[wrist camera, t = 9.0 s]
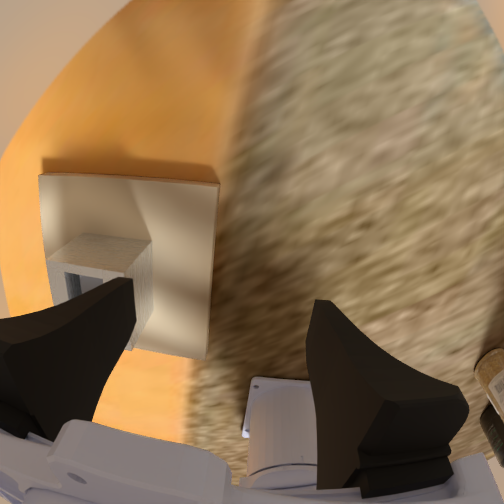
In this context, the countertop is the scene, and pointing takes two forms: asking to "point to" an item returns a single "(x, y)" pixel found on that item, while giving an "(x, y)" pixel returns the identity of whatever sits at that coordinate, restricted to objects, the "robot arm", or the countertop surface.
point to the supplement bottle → (494, 432)
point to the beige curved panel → (152, 229)
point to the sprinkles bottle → (492, 378)
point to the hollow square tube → (104, 270)
